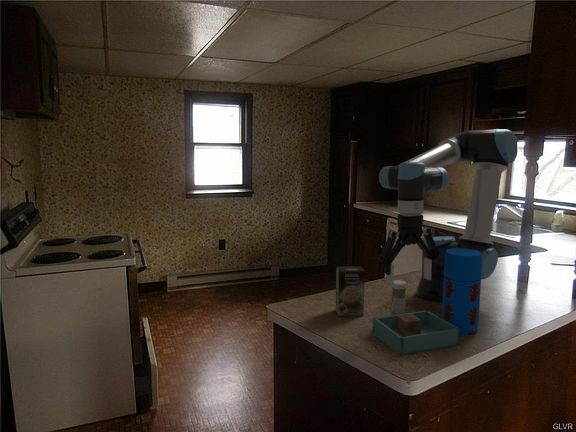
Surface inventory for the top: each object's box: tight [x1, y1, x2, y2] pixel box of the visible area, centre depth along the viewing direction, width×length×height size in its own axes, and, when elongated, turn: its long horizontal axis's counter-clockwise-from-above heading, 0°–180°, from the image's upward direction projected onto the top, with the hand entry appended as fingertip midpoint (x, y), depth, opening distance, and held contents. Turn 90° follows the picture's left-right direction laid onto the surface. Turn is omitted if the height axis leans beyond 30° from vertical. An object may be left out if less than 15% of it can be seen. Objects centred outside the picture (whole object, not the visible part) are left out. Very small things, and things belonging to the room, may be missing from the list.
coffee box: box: [335, 266, 366, 317], centre depth 150 cm, size 9×6×16 cm
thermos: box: [441, 248, 482, 336], centre depth 135 cm, size 11×11×25 cm
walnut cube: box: [397, 314, 421, 337], centre depth 132 cm, size 5×5×5 cm
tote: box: [372, 310, 461, 356], centre depth 129 cm, size 20×16×5 cm
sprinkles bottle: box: [391, 279, 407, 315], centre depth 142 cm, size 5×5×14 cm
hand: (409, 281), depth 133 cm, fingers open, 13 cm apart
